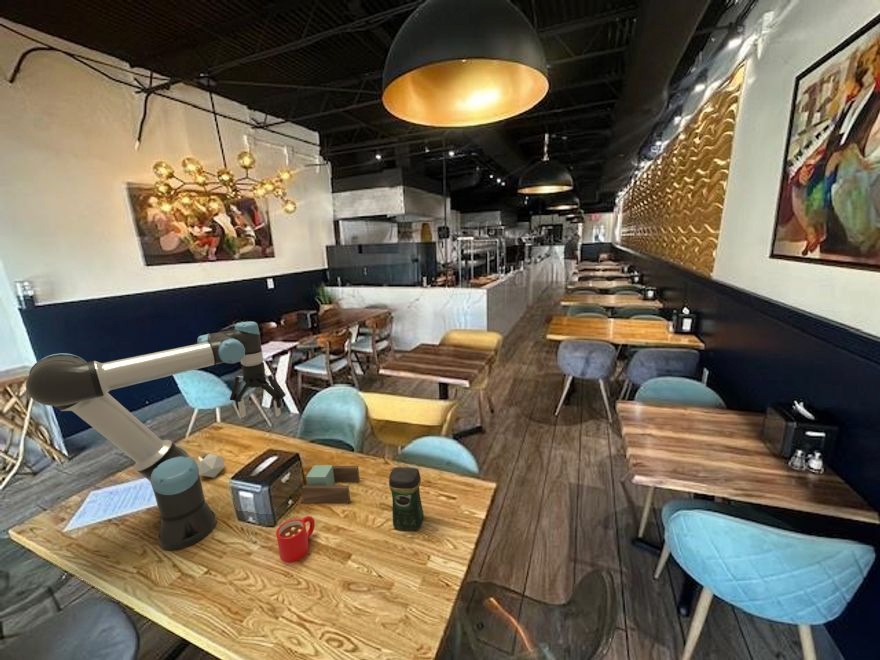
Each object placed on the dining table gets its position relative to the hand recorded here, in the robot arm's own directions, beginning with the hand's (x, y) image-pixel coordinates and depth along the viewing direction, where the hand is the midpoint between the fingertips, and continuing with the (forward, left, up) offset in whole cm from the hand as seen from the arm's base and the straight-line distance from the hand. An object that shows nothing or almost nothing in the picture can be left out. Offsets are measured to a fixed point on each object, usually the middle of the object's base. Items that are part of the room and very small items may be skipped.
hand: (260, 416), depth 142 cm
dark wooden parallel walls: (-11, -30, -24) cm, 40 cm away
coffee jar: (-26, -60, -25) cm, 70 cm away
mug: (-36, -29, -25) cm, 53 cm away
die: (-1, +23, -25) cm, 34 cm away
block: (-11, -26, -24) cm, 37 cm away
